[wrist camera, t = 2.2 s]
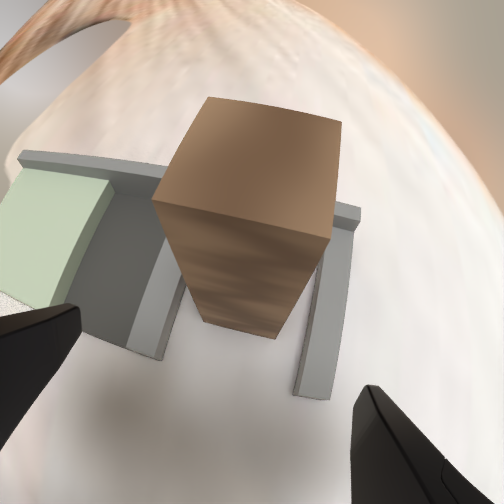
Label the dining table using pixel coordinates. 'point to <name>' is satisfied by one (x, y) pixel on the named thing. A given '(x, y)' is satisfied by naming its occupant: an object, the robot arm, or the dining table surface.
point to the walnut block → (250, 209)
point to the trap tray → (135, 258)
